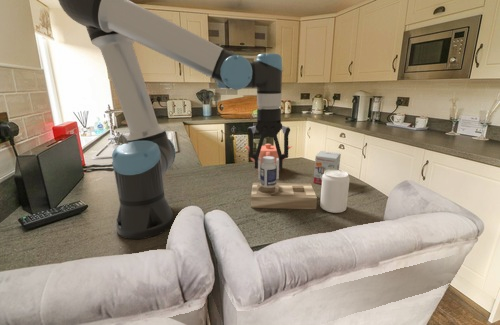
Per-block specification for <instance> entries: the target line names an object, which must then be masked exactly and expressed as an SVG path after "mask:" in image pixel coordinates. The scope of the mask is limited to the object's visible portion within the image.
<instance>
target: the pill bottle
mask: <svg viewBox="0 0 500 325" xmlns="http://www.w3.org/2000/svg"><path fill="white" fill-rule="evenodd" d="M274 162H275V158H274V157H272V156H266V157H263V163H262V164H261V167H260V179H259V180H260V181H259V183H261V186H262V187H266V188H272V187H275V186H276V183H277V179H276V169H277V166H276V164H275V163H274Z"/></svg>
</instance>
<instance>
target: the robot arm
mask: <svg viewBox="0 0 500 325" xmlns="http://www.w3.org/2000/svg"><path fill="white" fill-rule="evenodd" d="M57 1H58V2H59V5H60V7H61V9H62V10H63V12H64V13H65V14H66V15H67V17H69V18H70V19H72V20H73V21H75V22H76V23H78V24H79V25H81V26H83V27H85V28H86V31H87V33H88V36H89V39H90V42H91V44H92V45H93V46H95V47H97V49H99V50H100V52H101V55H102V57H103V61H104V63H105V66H106V69H107V72H108V74H109V78H110V79H111V82H112V85H113V89H114V91H115V93H116V97H117V99H118V102H119V105H120V108H121V111H122V113H123V117H124V119H125V122H126V125H127V127H128V128H127V129H128V130H129V134H128V136H127V138H126V141H127V142H126V143H122V144H119V145H118V146H117V147H116V148H114V150H113V151H112V154H111V156H112V158H111V160H112V163H111V164H112V168H113V172H114V179H115V184H116V189H117V194H118V199H119V209H118V213H117V218H116V225H115V226H116V231H117V234H118V235H119V236H120V237H123V238H124V239H129V240H139V239H141V240H143V239H147V238H151V237H154V236H158V235H161V233H165V232H166V231H167V230H169V229H170V228H171V227H172V226H173V224H174V222H173V221H174V211H173V210H172V208H171V206H170V204H169V202H168V200H167V198H166V194H165V188H164V187H165V186H164V179H163V177H164V175H165V174H166V172H168V170H169V169H171V167H172V166H173V163H174V162H175V158H176V148H175V145H174V143H173V142H172V141H171V140H170V139H169V138H168V135H167V131H166V129H165V128H163V127H162V126H160V125H159V123H158V120H157V116H156V113H155V110H154V107H153V104H152V101H151V98H150V94H149V91H148V88H147V85H146V81H145V79H144V78H145V77H143V75H144V74H143V73H142V70H141V66H140V64H139V63H140V62H139V60H138V57H137V54H136V51H135V47H134V43H135V42H136V43H137V44H140V45H142V46H144V47H145V48H149V49H150V50H152V51H155V52H157V53H159V54H161V55H163V56H164V57H167V58H169V59H171V60H174V61H176V62H177V63H179V64H182V65H184V66H186V67H187V68H189V69H192V70H194V71H196V72H198V73H201V74H203V75H205V76H206V77H208V78H211V79H213V80H214V81H216V84H217V86H218V88H220V89H228V90H230V89H231V90H237V91H238V90H243V89H256V106H257V107H258V108H257V109H256V124H255V125H253V126H249V127H248V128H247V132H248V135H249V137H248V138H249V141H248V142H249V143H248V147H249V151H248V156H249V159H251V158H253V159H254V160H255V162H254V169H255V170H257V169H258V170H257V179H258V180H260V167H261V158H259V154H260V151H261V147H262V146H263V143H264V141H265V139H266V138H270V139H271V138H272V139H273V141H274V146H276V149H277V153H278V157H279V158H276V166H277V169H276V180H279V179H280V177H279V176H280V170H281V169H283V163H284V161H283V159H284V158H286V159H288V158H289V150H288V147H289V135H290V132H291V128H290V127H289V126H285V125H283V124H282V109H281V107H282V83H283V57H282V56H281V54H279V53H275V52H274V53H272V52H271V53H269V52H268V53H260V54H257V55H256V59H255V60H254V61H249V60H248V59H247V58H246V57H244V56H243V55H240V54H239V55H238V54H234V53H232V52H231V51H229V50H227V49H225V48H223V47H221V46H219V45H217V44H215V43H214V42H211V41H209V40H207V39H206V38H204V37H202V36H199V35H198V34H197V33H194V32H191V31H190V30H188V29H186V28H183V27H182V26H180V25H178V24H176V23H174V22H173V21H170V20H168V19H167V18H164V17H162V16H161V15H160V14H159V15H158V14H157V13H154V12H153V11H151V10H149V9H147V8H144V7H143V6H141V5H138V4H137V3H135V2H133V1H131V0H57ZM256 130H257V132H258V133H259V135H260V137H259V141H258V143H257V144H258V145H257V148H256V151H255V153H254V134H255V133H256ZM281 130H282V133H283V149H284V151H283V153H284V154H283V153H282V150H281V145H280V142H279V139H278V134H279V133H280V131H281ZM172 223H173V224H172Z"/></svg>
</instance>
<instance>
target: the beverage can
mask: <svg viewBox="0 0 500 325" xmlns="http://www.w3.org/2000/svg"><path fill="white" fill-rule="evenodd" d="M350 180H351V179H350V176H349V173H348V172H346V171H344V170H340V169H339V170H327V171H325V172H324V174H323V176H322V184H321V189H320V202H319V203H320V204H319V206H320V208H321V209H322V210H324V211H326V212H328V213H334V214H338V213H343V212H345V211H346V210H347V205H348V197H349V188H350Z"/></svg>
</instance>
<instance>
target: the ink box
mask: <svg viewBox="0 0 500 325" xmlns="http://www.w3.org/2000/svg"><path fill="white" fill-rule="evenodd" d="M341 155H342V153H339V152H332V151H331V152H330V151H323V150H320V151H319V152H317V154H316V155H315V159H314V160H315V162H314V173H313V184H317V185H322V176H323V174H324V172H325V171H327V170H340V164H341V163H340V162H341Z"/></svg>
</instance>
